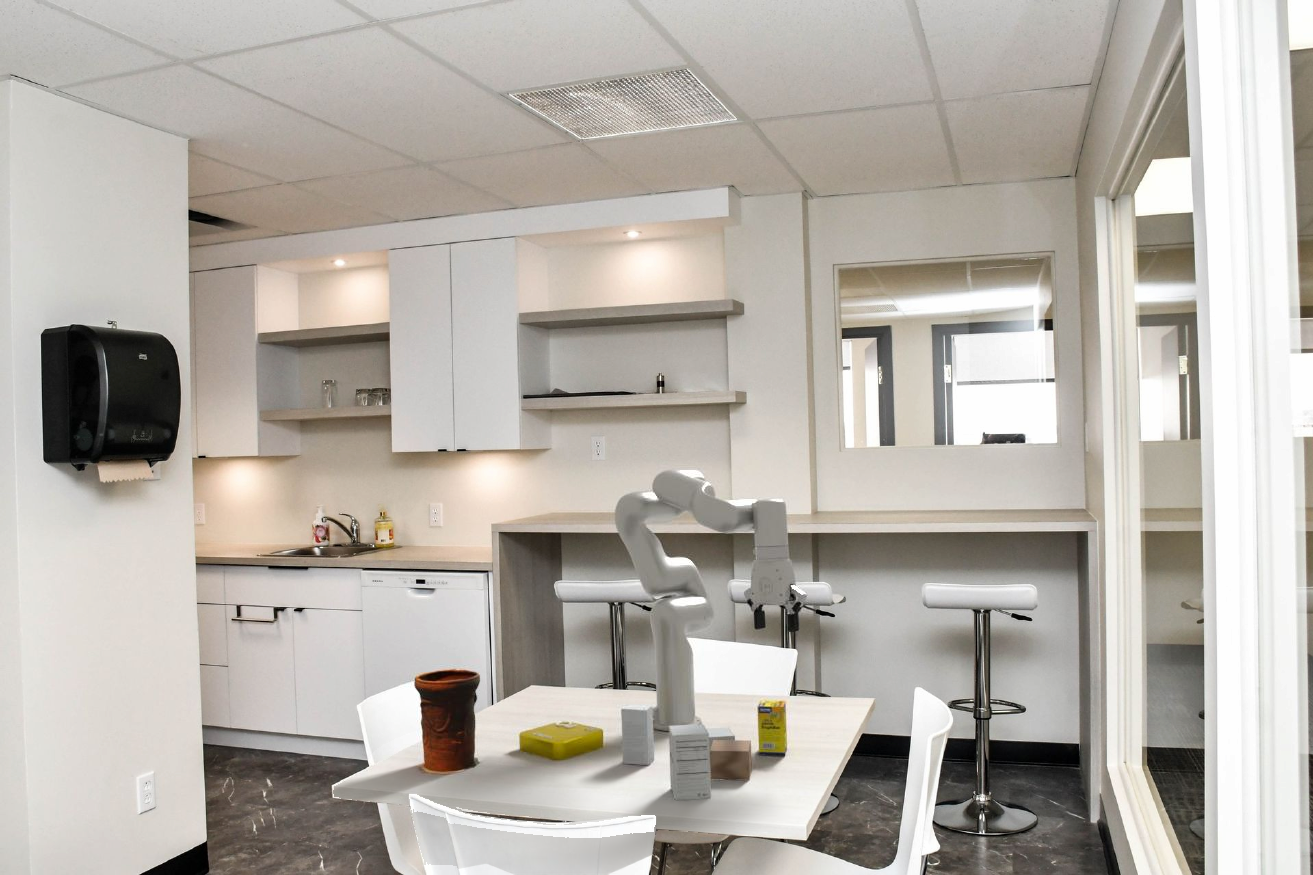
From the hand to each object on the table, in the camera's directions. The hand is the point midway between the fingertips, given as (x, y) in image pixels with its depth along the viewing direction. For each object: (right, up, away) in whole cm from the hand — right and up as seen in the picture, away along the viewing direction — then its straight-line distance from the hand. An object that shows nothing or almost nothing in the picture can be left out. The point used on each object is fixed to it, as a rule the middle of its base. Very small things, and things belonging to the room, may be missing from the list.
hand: (776, 629), depth 225 cm
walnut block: (-11, -27, -16) cm, 34 cm away
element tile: (-49, -29, +7) cm, 58 cm away
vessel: (-73, -30, -3) cm, 79 cm away
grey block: (-14, -27, -6) cm, 31 cm away
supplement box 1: (-20, -27, -28) cm, 44 cm away
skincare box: (-31, -28, -6) cm, 42 cm away
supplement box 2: (-1, -27, -2) cm, 27 cm away
